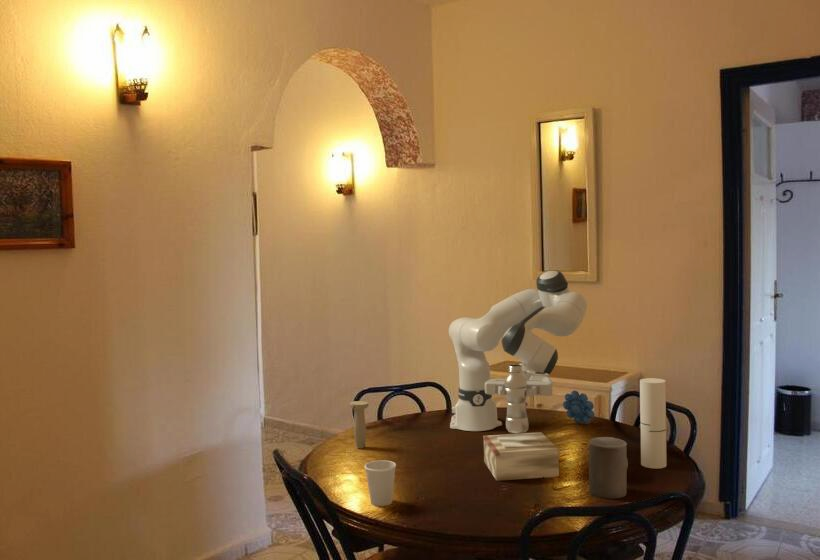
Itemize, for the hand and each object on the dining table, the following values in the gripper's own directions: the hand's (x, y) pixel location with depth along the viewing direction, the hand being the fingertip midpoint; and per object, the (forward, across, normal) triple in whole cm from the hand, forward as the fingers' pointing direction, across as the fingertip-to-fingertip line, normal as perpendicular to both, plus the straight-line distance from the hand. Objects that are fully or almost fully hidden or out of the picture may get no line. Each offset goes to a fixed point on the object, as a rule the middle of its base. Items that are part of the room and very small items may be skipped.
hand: (515, 393), depth 220 cm
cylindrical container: (-11, +38, +23) cm, 46 cm away
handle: (-15, -54, +23) cm, 60 cm away
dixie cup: (+32, -32, +23) cm, 51 cm away
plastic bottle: (-1, 0, +12) cm, 12 cm away
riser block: (-1, +1, +23) cm, 23 cm away
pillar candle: (+15, +26, +23) cm, 38 cm away
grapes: (-54, +15, +23) cm, 61 cm away
